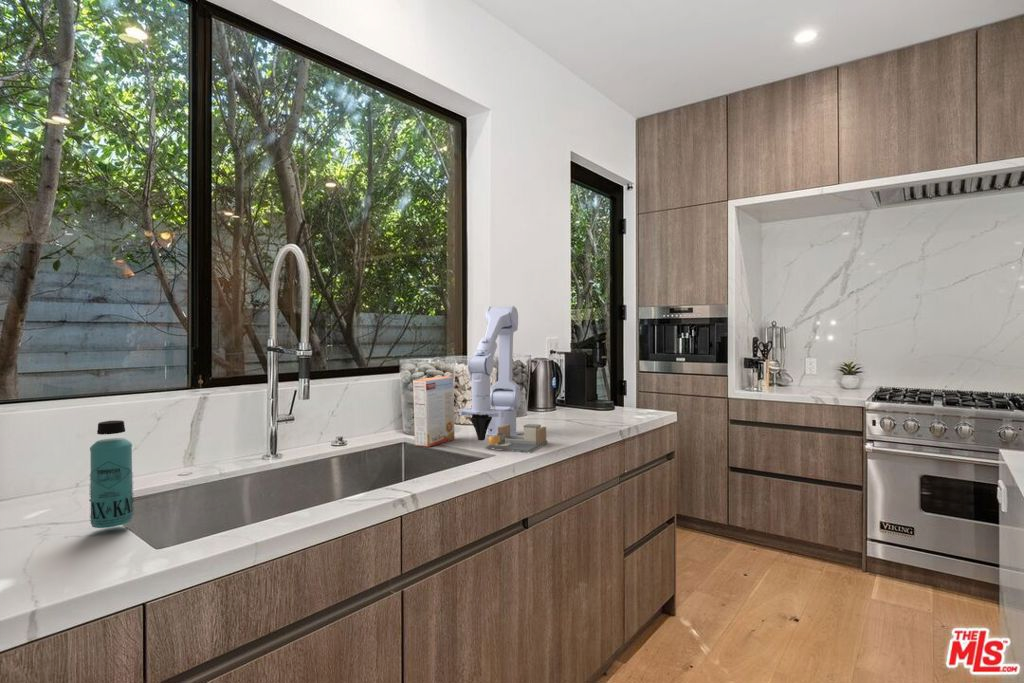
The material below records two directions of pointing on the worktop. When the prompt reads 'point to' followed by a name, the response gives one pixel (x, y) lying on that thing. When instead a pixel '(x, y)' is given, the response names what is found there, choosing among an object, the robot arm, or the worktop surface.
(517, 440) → the rail board
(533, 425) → the beige block
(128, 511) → the beverage bottle
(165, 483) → the worktop surface
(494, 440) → the gauge lever
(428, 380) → the cracker box
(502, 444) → the gauge dial
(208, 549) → the worktop surface
